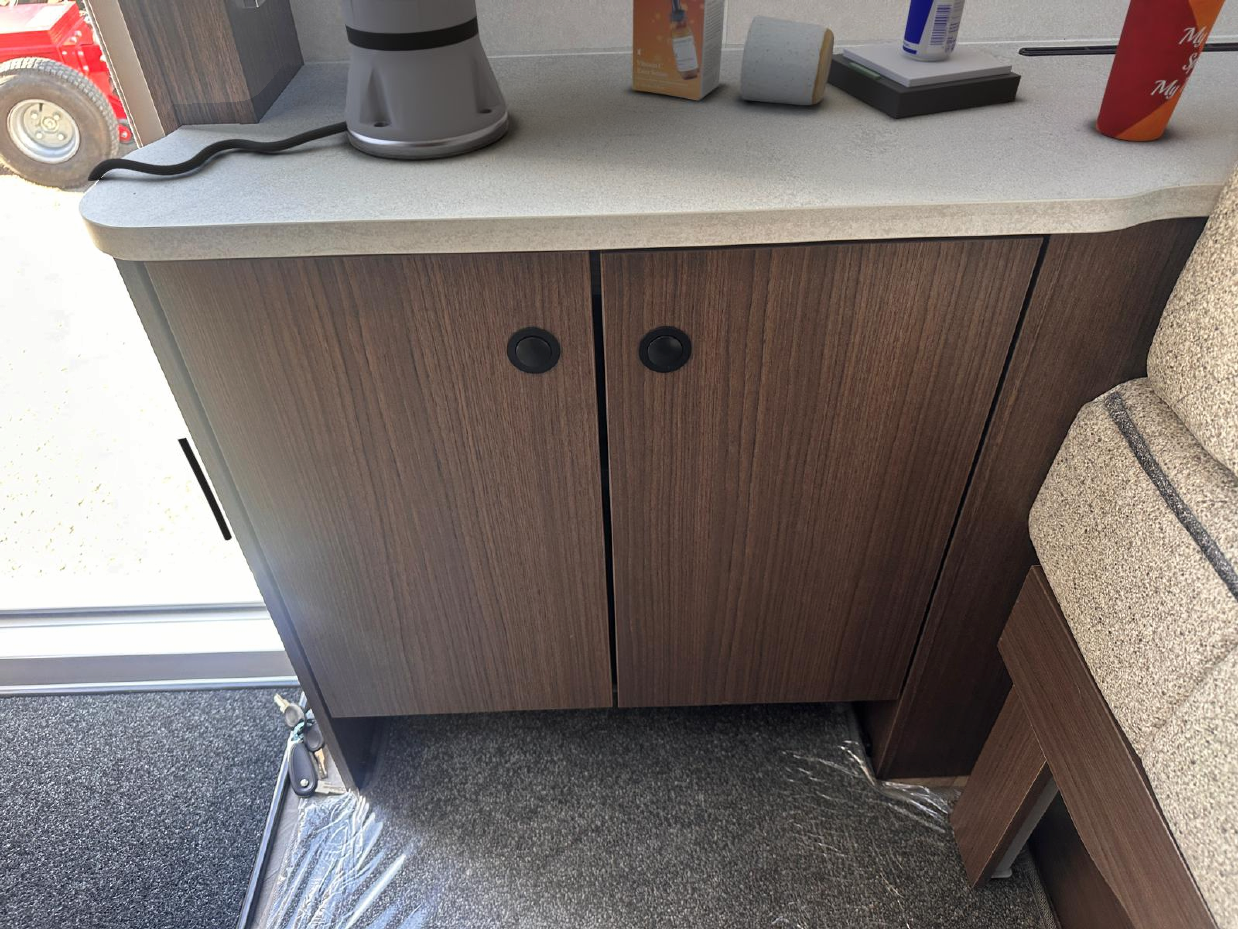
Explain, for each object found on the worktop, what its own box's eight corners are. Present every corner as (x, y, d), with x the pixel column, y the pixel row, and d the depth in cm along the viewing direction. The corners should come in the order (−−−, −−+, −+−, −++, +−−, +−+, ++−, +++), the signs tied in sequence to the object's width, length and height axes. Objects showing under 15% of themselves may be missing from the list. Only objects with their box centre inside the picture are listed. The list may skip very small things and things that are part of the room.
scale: (895, 118, 81) (902, 83, 79) (822, 78, 91) (826, 47, 89) (1014, 100, 84) (1024, 66, 82) (931, 64, 95) (937, 33, 92)
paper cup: (1170, 150, 73) (1244, -32, 64) (1076, 136, 77) (1134, -40, 67) (1179, 124, 78) (1249, -49, 69) (1090, 111, 82) (1147, -56, 72)
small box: (631, 91, 89) (630, -21, 82) (653, 77, 93) (654, -32, 86) (700, 101, 86) (705, -15, 79) (720, 86, 90) (727, -26, 83)
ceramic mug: (818, 116, 82) (830, 29, 77) (736, 109, 84) (743, 24, 79) (831, 86, 90) (843, 5, 85) (755, 80, 92) (763, 1, 87)
